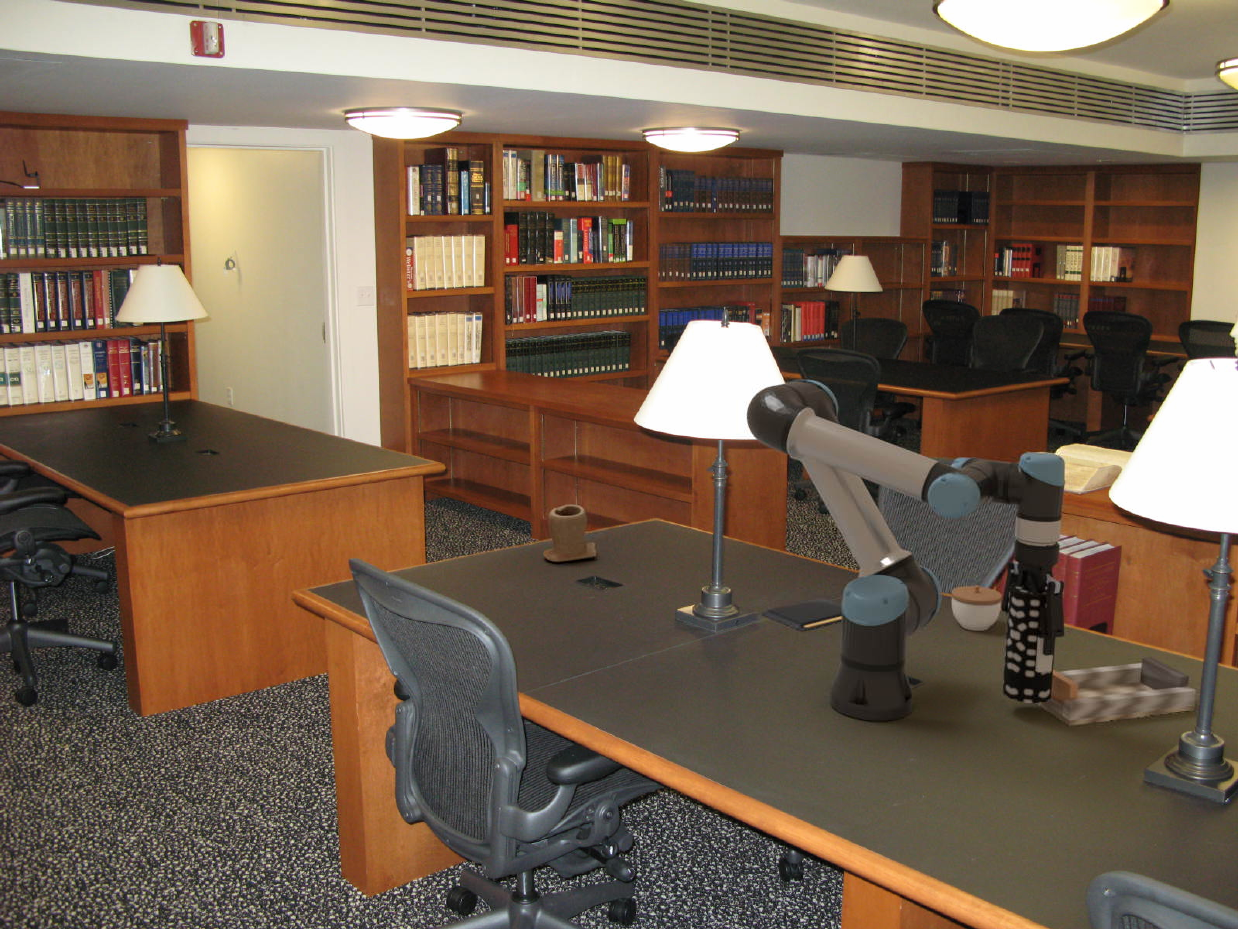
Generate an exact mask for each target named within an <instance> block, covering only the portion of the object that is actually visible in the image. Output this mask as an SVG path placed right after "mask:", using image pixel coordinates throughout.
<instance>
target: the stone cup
mask: <svg viewBox="0 0 1238 929" xmlns="http://www.w3.org/2000/svg"><path fill="white" fill-rule="evenodd" d="M586 513H587V512H586V510H585V509H584V508H583V507H582V506H581V505H577V504H564V505H562V506H559V507H555V508H553V509H552V510H551V511H550V512H549V513H548V514H549V515H548V521H547V522H548V523H547V525H548V530H549V535H550V537H551V540H552V544H553V547H552V548H547V549H546V550H544V551H543V557H544V558H545V559H547V560H548V561H551V562H556V563H557V562H558V563H559V562H569V561H576V560H582V559H589V558H594V557H595V558H596V556H597V551H596V548H595V546H596V543H595V542H592V541H591V542H585V541H584V540H585V536H586V535H585V534H586V530H587V524H588V517H587V514H586Z"/></svg>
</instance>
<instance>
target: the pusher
mask: <svg viewBox="0 0 1238 929" xmlns="http://www.w3.org/2000/svg"><path fill="white" fill-rule="evenodd" d="M1058 672H1059V671H1057V670H1055V669H1053V677H1052V690H1051V697H1053V698H1054V699H1056V700H1057V701H1059V702H1060V703H1062V704H1064V700H1070V699H1077V693H1078V684H1076V683H1075V682H1073V681H1071V680H1070V679H1068V678H1066V677H1065V676H1063V675H1061V674H1060V673H1058Z"/></svg>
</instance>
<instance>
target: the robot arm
mask: <svg viewBox="0 0 1238 929" xmlns="http://www.w3.org/2000/svg"><path fill="white" fill-rule="evenodd" d="M838 414H839V405H838V400H837V398H836V397H835V394H834V393H833V392H832V390H831V389H830V388H829V387H828V386H826V385H825V384H823V383H822V382H819V381H817V380H812V379H795V380H792V381H790V382H785V383H781V384H777V385H771V386H766V387H765V388H763V389H760V390H759V391H758V392H757V393H756V394H755V395H754V396H753V397H752V399H751V400H750V402H749V404H748V407H747V410H746V421H747V422H746V423H747V426H748V428H749V431H750V433H751V434H752V436H753V438H755V439H756V440H758V442H759V443H761V444H762V445H764V446H766V447H768V448H771V449H773V450H775V451H777V452H781V453H782V454H783V453H784V454H785V455H789V458H790V459H793V460H796V461H799V462H801V463H802V465H803V467H804V468H805V471H806V473H807V475H809V477H810V479H811V482H812V483H813V485H814V487H815V489H816V491H817V493H818V494H819V496H820V498H821V499H822V501H823V503H824V505H825V507H826V508H827V511H828V512H829V515H830V516H831V517H832V520H833V521H834V523H835V525H836V527H837V528H838V530H839V532H840V533H841V536H842V538H843V539H844V541H845V543H846V545H847V547H848V549H849V550H850V552H851V554H852V556H853V557H854V560H855V561H856V563H857V565H858V567H859V570H860V571H859V574H858V577H857V578H854V579H852V580H851V581H849V582H848V583H847V584H846V586H845V587H844V589H843V594H842V600H841V605H842V606H841V607H842V622H841V632H840V634H841V635H840V636H841V637H840V639H841V640H840V662H839V665H838V667H837V670H836V673H835V676H834V678H833V680H832V683H831V685H830V689H829V699H828V700H829V705H830V706H831V707H832V708H833V709H834V710H835V711H837V712H839V713H840V714H843V715H845V716H848V717H851V718H855V719H859V720H863V721H880V722H881V721H883V722H884V721H885V722H886V721H893V720H898V719H902V718H904V717H906V716H908V715H910V714H911V712H912V711H913V706H914V696H913V692H912V689H911V684H910V682H909V681H910V680H909V677H908V674H907V670H906V649H907V638H908V637H910V636H911V635H913V634H914V633H915V632H917V631H918V630H919V629H921V628H923V627H926V626H927V625H928V624H929V623H930V622H931V621H933V619H934V618H935V616H936V615H937V614H938V613H939V611H940V608H941V606H942V601H943V590H942V586H941V584H940V583H941V582H939V579H938V578H937V575H935V573H933V572H932V571H931V570H930V569H929V568H927V567H924V566H922V565H920V564H919V562H918V560H916V558H915V556H914V555H913V553H912V552H911V551H909V550H906V549H902V548H901V547H900V545H899V544H898V542H897V540H896V538H895V536H894V534H893V533H892V531H891V530H890V527H889V526H888V525H887V524H888V523H887V522H886V520H885V519H884V516H883V515H882V513H881V512H880V509H879V508H878V506H877V505H876V502H875V501H874V499H873V497H872V496H871V493H870V492H869V490H868V488H867V486H866V485H865V483H864V481H863V479H865V480H867V481H869V482H872V483H874V484H877V485H879V486H882V487H885V488H888V489H890V490H893V491H895V492H897V493H900V494H902V495H904V496H907V497H910V498H913V499H915V500H918V501H921V502H923V503H926V504H928V505H929V507H930V508H931V509H932V511H933V512H934V513H935V514H936V515H938V516H940V518H941V517H942V518H944V519H948V520H949V519H951V520H952V519H953V520H954V519H958V518H962V517H964V516H967V515H969V514H971V513H973V512H974V511H975V510H976V509H979V508H980V507H982V506H984V505H985V504H988V503H995V504H1005V505H1009V506H1010V505H1011V506H1012V505H1014V506H1016V514H1015V516H1016V518H1015V526H1014V527H1015V528H1014V529H1015V530H1014V537H1015V538H1016V539H1015V540H1014V546H1013V559H1014V561H1009V562H1007V564H1006V567H1007V569H1006V571H1007V572H1006V580H1005V585H1004V590H1003V595H1002V600H1001V608H1000V611H1002V612H1004V613H1006V615H1005V616H1006V617H1008V603H1009V588H1010V585H1012V584H1014V583H1016V584H1015V585H1017V586H1019V587H1022V585H1023V587H1025V588H1027V589H1029V590H1031V593H1033V594H1035V595H1042V594H1038V593H1043V592H1045V591H1046V602H1047V609H1044V608H1042V607H1040V618H1039V624H1040V629H1041V635H1038V642H1037V656H1036V670H1035V671H1037V672H1045V671H1052V657H1053V654H1054V655H1055V651H1054V644H1055V645H1056V638H1063V637H1065V621H1064V599H1063V593H1064V589H1065V582H1064V580H1057V579H1055V578H1054V573H1053V568H1054V567H1055V566H1056V565H1058V563H1059V560H1060V544H1059V541H1060V540H1061V530H1062V529H1061V527H1062V514H1063V504H1064V502H1063V501H1064V494H1065V485H1066V479H1065V477H1066V476H1065V475H1066V474H1065V472H1066V471H1065V469H1066V467H1065V466H1066V464H1065V459H1063V458H1064V457H1062V456H1060V455H1058V454H1054V453H1049V452H1035V451H1034V452H1025V453H1023V454H1022V455H1021V456H1020V458H1019V461H1018V462H1010V461H1001V460H992V459H991V460H990V459H983V458H978V457H957V458H956V459H955V460H953V462H952V464H951V465H948V464H945V463H943V462H940V461H937V460H936V459H933V458H931V457H927V456H924V455H922V454H920V453H917V452H915V451H912V450H908V449H906V448H904V447H901V446H898V445H895V444H892V443H890V442H886V441H884V440H882V439H879V438H877V437H874V436H871V435H868V434H866V433H863V432H860V431H858V430H854V429H852V428H849V427H847V426H843V425H841V424H840V422H839V420H838ZM1047 629H1048V631H1047Z"/></svg>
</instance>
